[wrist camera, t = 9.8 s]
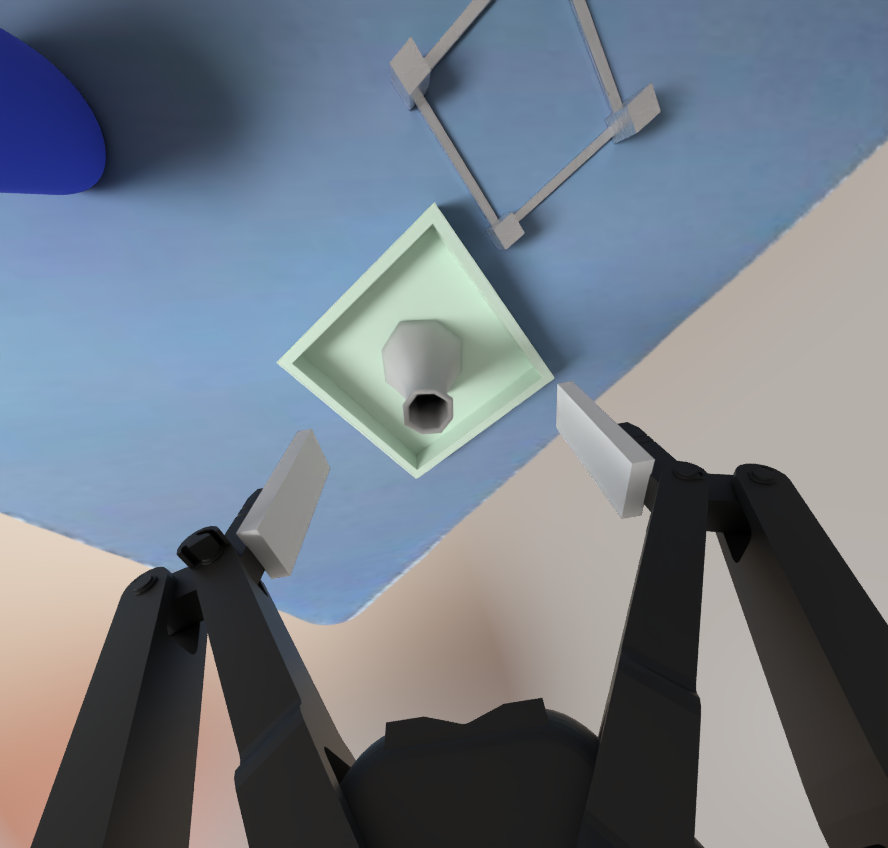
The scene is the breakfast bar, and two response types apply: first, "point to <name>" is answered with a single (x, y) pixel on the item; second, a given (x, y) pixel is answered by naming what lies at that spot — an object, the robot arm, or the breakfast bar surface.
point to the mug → (44, 127)
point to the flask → (423, 372)
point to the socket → (622, 123)
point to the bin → (413, 299)
